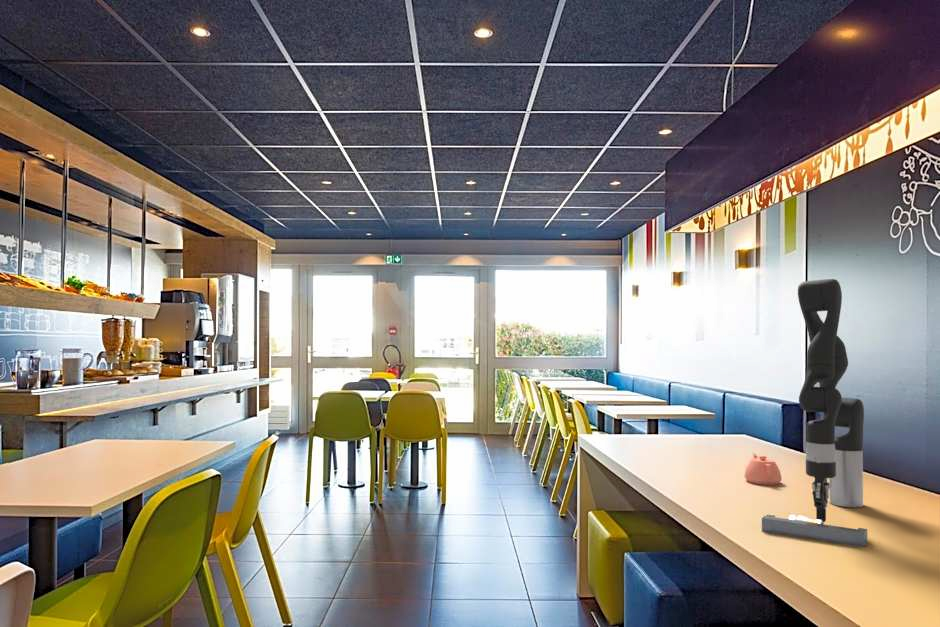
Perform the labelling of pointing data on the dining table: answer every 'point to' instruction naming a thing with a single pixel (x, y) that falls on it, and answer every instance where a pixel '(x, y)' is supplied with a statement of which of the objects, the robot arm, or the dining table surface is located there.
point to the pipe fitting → (804, 519)
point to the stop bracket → (815, 531)
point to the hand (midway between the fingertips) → (821, 521)
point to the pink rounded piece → (762, 471)
